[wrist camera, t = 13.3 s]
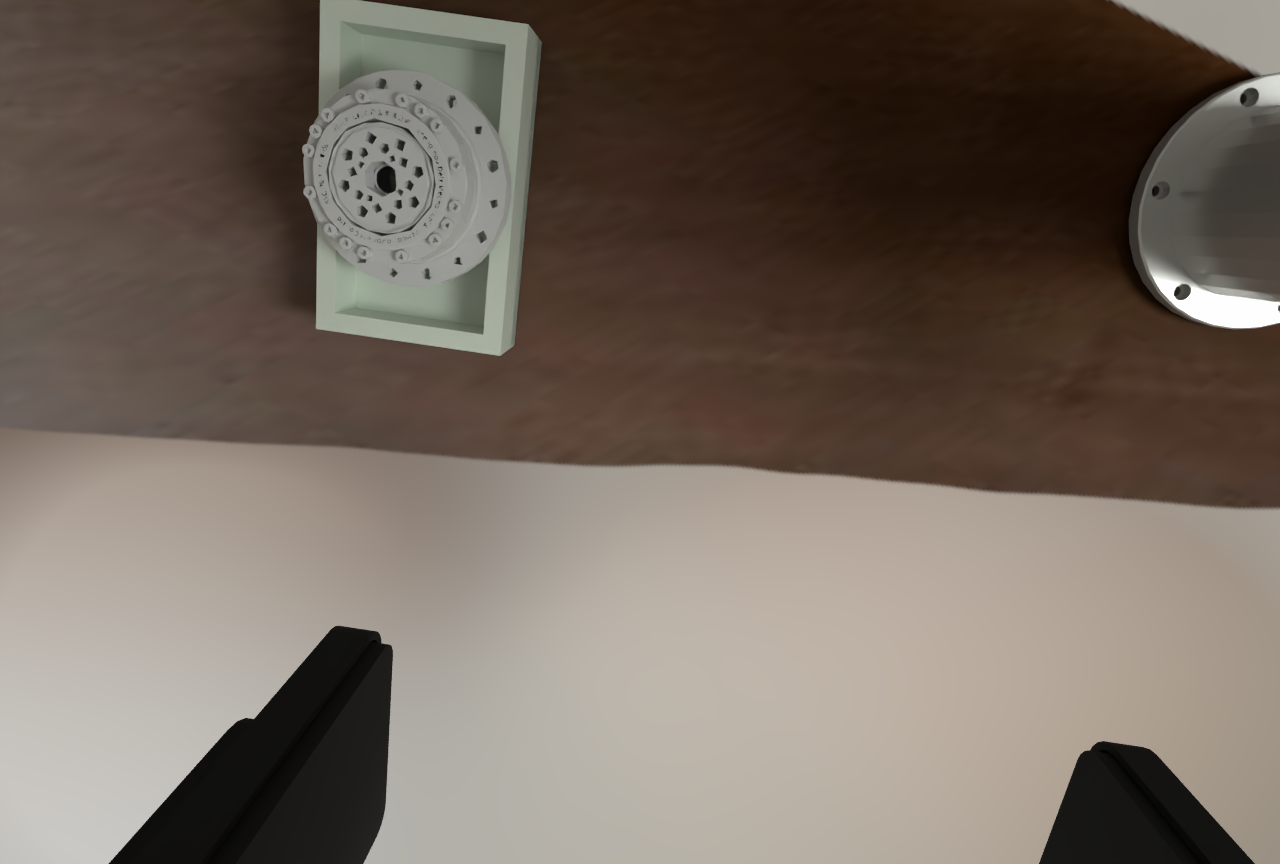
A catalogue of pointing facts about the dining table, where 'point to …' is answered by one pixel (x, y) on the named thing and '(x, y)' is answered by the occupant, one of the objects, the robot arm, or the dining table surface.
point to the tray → (506, 94)
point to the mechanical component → (406, 178)
